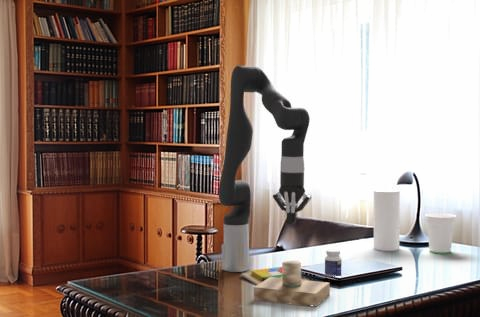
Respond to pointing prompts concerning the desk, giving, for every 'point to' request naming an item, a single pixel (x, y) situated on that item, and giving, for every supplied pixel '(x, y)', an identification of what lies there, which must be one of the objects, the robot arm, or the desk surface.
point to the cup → (440, 232)
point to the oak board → (292, 292)
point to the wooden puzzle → (264, 275)
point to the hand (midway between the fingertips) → (291, 224)
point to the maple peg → (291, 273)
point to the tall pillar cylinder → (386, 219)
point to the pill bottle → (332, 263)
